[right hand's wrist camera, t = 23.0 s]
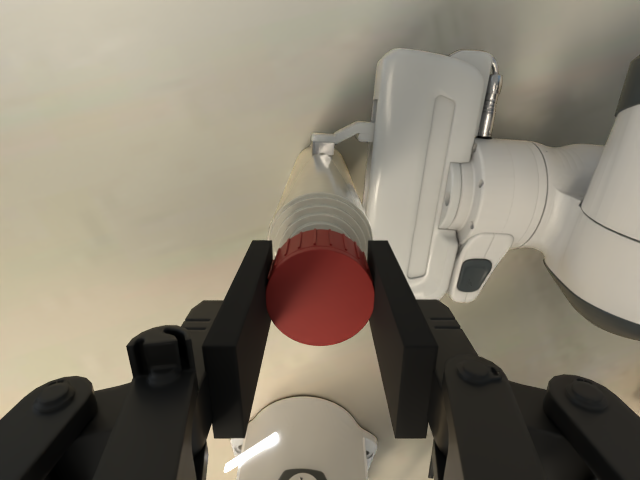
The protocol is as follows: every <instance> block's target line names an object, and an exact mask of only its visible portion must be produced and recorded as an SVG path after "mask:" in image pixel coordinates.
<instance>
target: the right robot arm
mask: <svg viewBox="0 0 640 480" xmlns="http://www.w3.org/2000/svg"><path fill="white" fill-rule="evenodd" d="M272 260H273V249H272V240H252V242H251V245H250V247H249V249H248V251H247V253H246V255H245V257H244V259H243V261H242V263H241V265H240V267H239V270H238V272H237V274H236V276H235V278H234V280H233V282H232V284H231V286H230V288H229V290H228V292H227V295H226V297H225V299H224V300H203V301H202V302H201V303H199V304H198V305H197V306H195V307H194V308H193V309H191V311H190V313H189V314H188V316H187V317H186V319H185V321H184V322H183V324H182V326H181V327H180V326H177V325H165V326H160V327H155V328H152V329H149V330H147V331H144V332H142V333H140V334H139V335H137V336H136V337H134V338H133V339H132V340H131V341H130V342H129V343H128V345H127V346H126V347H127V352H128V356H129V361H130V365H131V369H132V374H133V379H132V382H130V383H127V384H124V385H120V386H116V387H112V388H107V389H103V390H98V391H94V390H93V386H92V383H91V382H90V381H89V380H88V379H87V378H84V377H79V376H71V377H63V378H60V379H56V380H53V381H50V382H48V383H46V384H44V385H42V386H40V387H38V388H36V389H35V390H33V391H32V392H31V393H29V394H28V395H27V396H25V397H24V398H23V399H22V400H21V401H20V402H19V403H18V404H17V405H16V406H15V407H13V408H12V409H11V410H10V411H9V412H8V413H7V414H6V415H5V416H4V417H3V418H2V419H1V420H0V480H206V473H207V463H208V448H207V441H206V439H207V436H208V433H209V430H210V427H211V424H212V426H213V433H214V438H245V436H246V431H247V427H248V422H249V418H250V413H251V409H252V404H253V400H254V395H255V391H256V386H257V382H258V377H259V373H260V368H261V364H262V359H263V355H264V350H265V346H266V341H267V336H268V332H269V327H270V323H271V318H270V316H269V314H268V311H267V307H266V287H267V283H268V279H267V277H268V274H269V270H270V267H271V264H272ZM367 263H368V266H369V269H370V273H371V276H372V280H373V286H374V291H375V293H374V309H373V312H372V314H371V317H370V319H369V322H370V327H371V331H372V336H373V340H374V345H375V349H376V354H377V358H378V363H379V367H380V372H381V376H382V381H383V385H384V390H385V394H386V399H387V403H388V408H389V412H390V417H391V422H392V426H393V431H394V435H395V438H426V434H427V427H428V422H429V425H430V428H431V431H432V434H433V437H434V441H433V448H432V455H431V462H430V468H429V476H428V478H433V476H434V480H640V417H639V416H638V415H637V414H636V413H635V412H634V411H632V410H631V409H630V408H629V407H628V406H627V405H626V404H625V403H624V402H623V401H622V400H621V399H620V398H619V397H617V396H616V395H615V394H614V393H612V392H611V391H610V390H608V389H607V388H606V387H604V386H602V385H600V384H598V383H596V382H594V381H592V380H590V379H587V378H583V377H580V376H576V375H565V374H563V375H559V376H554V377H553V378H552V379H551V380H550V381H549V383H548V387H547V390H545V389H540V388H536V387H531V386H527V385H522V384H518V383H515V382H512V381H509V380H508V379H507V377H506V375H505V374H504V372H503V371H502V369H501V368H499V367H498V366H497V365H495V364H494V363H493V362H491V361H489V360H487V359H484V358H482V357H479V356H478V354H477V353H476V351H475V350H474V348H473V346H472V345H471V343H470V342H469V340H468V338H467V337H466V335H465V333H464V332H463V330H462V329H460V325H459V324H458V322H457V320H455V317H454V316H453V314H452V312H451V311H450V309H449V308H448V307H447V306H445V305H444V304H443V303H441V302H440V301H438V300H437V299H416V298H415V296H414V294H413V292H412V290H411V288H410V286H409V284H408V282H407V280H406V277H405V275H404V273H403V271H402V269H401V267H400V265H399V263H398V261H397V259H396V257H395V255H394V253H393V250H392V248H391V246H390V244H389V242H388V240H368V252H367Z"/></svg>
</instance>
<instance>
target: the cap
mask: <svg viewBox="0 0 640 480" xmlns="http://www.w3.org/2000/svg"><path fill="white" fill-rule="evenodd" d="M267 279H268V283H267V287H266V307H267V311H268V314H269V316H270V318H271V320H272V321H273V323H274V324H275V326H276V327H277V328H278V329H279V330H280V331H281V332H282V333H283V334H285V335H286V336H288V337H289V338H291V339H293V340H295V341H297V342H300V343H303V344H307V345H313V346H327V345H333V344H337V343H340V342H343V341H345V340H347V339H349V338H351V337H353V336H354V335H355V334H357V333H358V332H359V331H360V330H361V329H362V328H363V327H364V326H365V325H366V323H367V322H368V320H369V319H370V317H371V314H372V312H373V309H374V293H375V291H374V286H373V280H372V276H371V273H370V269H369V266H368V263H367V260H366V256H365V253H364V251H363V252H362V251H361V249H360V248H359V247H358V245H357V243H356V242H355V241H354V242H353V241H352V240H351V239H350V238H348V237H347V236H345V234H344V233H343V234H341V233H338V232H335V231H332V230H331V229H329V230H325V229H316V228H315V229H314V230H309V231H305V232H302V231H301V232H300V233H299V234H297V235H295V236H294V237H292V238H290V239H289V238H288V239H287V242H286V243H285V244H284V245H283V246H282V247H281V248H279V249H278V251H277V255H276V257H275V259H274V260H272V264H271V267H270V270H269V274H268V277H267Z"/></svg>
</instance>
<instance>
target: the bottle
mask: <svg viewBox="0 0 640 480" xmlns="http://www.w3.org/2000/svg"><path fill="white" fill-rule="evenodd" d="M315 228H316V229H325V230H329V229H331V230H332V231H335V232H338V233H341V234H343V233H344V234H345V236H347V237H348V238H350V239H351V240H352V241H353V242H354V241H355V242H356V243H357V245H358V247H359V248H360V249H361V251H362V252H363V251H364V253H365V256H366V260H367V252H368V240H373V235H372V230H371V227H370V224H369V221H368V219H367V216H366V214H365V211H364V209H363V206H362V204H361V201H360V199H359V196H358V194H357V191H356V189H355V186H354V184H353V181H352V179H351V176H350V174H349V171H348V169H347V166H346V164H345V161H344V159H343V157H342V155H341V154H340V153H339V152H338V151H337V150H336V149H335V148H334V155H325V154H323V153H321V154H311V146H309V147H307V148H305V149H304V150H303V151H302V152H301V153H300V154H299V156H298V157H297V159H296V162H295V164H294V167H293V169H292V172H291V174H290V177H289V179H288V182H287V184H286V187H285V189H284V192H283V194H282V197H281V199H280V202H279V205H278V207H277V210H276V212H275V215H274V217H273V220H272V222H271V225H270V227H269V231H268V237H267V240H272V249H273V260H274V259H275V257H276V255H277V251H278V249H279V248H281V247H282V246H283V245H284V244H285V243H286V242H287V239H288V238H289V239H290V238H292V237H294V236H295V235H297V234H299V233H300V232H301V231H302V232H305V231H309V230H314V229H315Z"/></svg>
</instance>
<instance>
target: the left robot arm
mask: <svg viewBox="0 0 640 480" xmlns="http://www.w3.org/2000/svg"><path fill="white" fill-rule="evenodd" d="M491 66H492V70H493V74H490V71H491ZM502 81H503V77H502V75H499V69H498V64H497V62H496V60H495V58H494V57H493V56H492V55H491V54H490V53H488V52H486V51H483V50H469V49H462V50H457V51H455V52H453V53H451V54H450V55H449V56H446V55H441V54H437V53H432V52H428V51H422V50H415V49H407V48H395V49H392V50H391V51H389V52H387V53H386V54H385V55H384V56H383V57H382V58H381V59H380V60H379V61H378V63H377V67H376V76H375V86H374V96H373V106H372V115H371V122H369V121H355V122H353V123H351V124H350V125H348V126H346V127H344V128H342V129H340V130H338V131H336V132H335V133H334V134H328V133H312V137H311V154H321V153H323V154H325V155H334V145H336V144H338V143H340V142H342V141H344V140H346V139H348V138H350V137H352V136H354V135H356V138H357V140H358V141H360V142H369V144H368V154H367V164H366V174H365V183H364V193H363V203H362V206H363V209H364V211H365V214H366V216H367V219H368V221H369V224H370V227H371V230H372V235H373V240H388V242H389V244H390V246H391V248H392V250H393V253H394V255H395V257H396V259H397V261H398V263H399V265H400V267H401V269H402V271H403V273H404V275H405V277H406V280H407V282H408V284H409V286H410V288H411V290H412V292H413V294H414V296H415V298H416V299H437V300H439V299H441V298H442V297H443V296H444V295H445V293H447V295H448V296H449V297H450V298H451V299H452V300H453V301H455V302H459V303H469V302H472V301H473V300H475V299H476V297H477V296H478V295H479V293H480V291H481V290H482V288H483V286H484V285H485V283H486V282H487V280H488V278H489V277H490V275H491V274H492V272H493V271H494V269H495V268H496V266H497V265H498V264H499V262H500V261H501V259H502V258H503V257H504V256H505V254H506V253H507V252H508V251H509V249H518V248H534V249H536V250H539V251H540V252H542V253H543V255H544V257H545V258H544V259H543V261H544V264H545V266H546V268H547V269H548V271H549V273H550V274H551V276H552V277H553V279H554V280H555V282H556V283H557V285H558V286H559V287H560V289H561V290H562V292H563V293H564V295H565V296H566V298H567V299H568V301H569V302H570V303H571V305H572V306H573V307H574V308H575V309H576V310H577V311H578V312H579V313H580V314H581V315H582V316H583V317H585V318H586V319H587V320H588V321H590V322H591V323H592V324H594V325H596V326H597V327H599V328H601V329H603V330H606V331H608V332H610V333H613V334H616V335H619V336H622V337H626V338H629V339H634V340H638V341H640V55H639V56H638V57H636V58H635V59H634V60H633V61H632V62H631V63H630V66H629V70H628V73H627V76H626V80H625V83H624V86H623V90H622V93H621V96H620V100H619V103H618V106H617V110H616V113H615V117H616V120H615V122H614V125H613V127H612V130H611V132H610V135H609V137H608V140H607V142H606V144H605V146H604V145H593V144H571V145H566V146H562V147H548V146H545V145H543V144H540V143H537V142H534V141H527V140H510V139H496V138H491V134H492V130H493V125H494V120H495V114H496V113H495V112H496V104H497V100H498V95H499V94H500V92H501V88H502ZM475 136H476V138H475ZM230 442H231V446H232V449H233V453H234V456H235V459H233V460H231V461H230V462H228V463H227V464H226V466H225V469H224V472H228V471H229V470H231V469H233V468H234V467H236V466H238V472H237V478H236V480H368V469H369V467H370V465H371V463H372V460H373V458H374V456H375V453H376V451H377V448H378V446H377V439H376V437H375V436H374V435H372V434H371V433H369V432H367V431H366V430H364V429H362V428H361V427H360V426H359V425H358V424H357V422H356V421H355V420H354V418H353V417H352V416H351V415H350V414H349V413H348V412H347V411H346V410H345V409H343V408H342V407H340V406H339V405H337V404H335V403H333V402H331V401H328V400H325V399H321V398H316V397H307V396H301V397H291V398H286V399H282V400H279V401H277V402H274V403H272V404H270V405H269V406H267V407H266V408H264V409H263V410H262V411H261V412H259V413H258V415H257V416H256V417H255V418H254V419H253V420H252V421H251V422H250V423H248V427H247V431H246V436H245V438H231V440H230Z"/></svg>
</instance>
